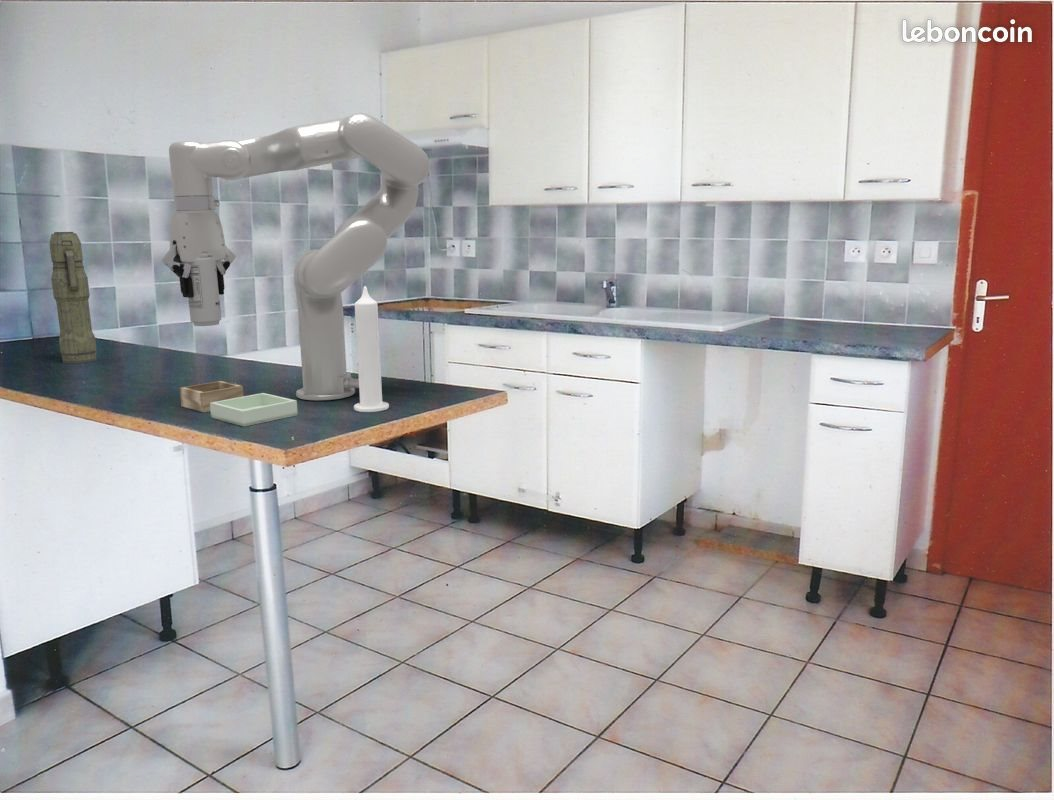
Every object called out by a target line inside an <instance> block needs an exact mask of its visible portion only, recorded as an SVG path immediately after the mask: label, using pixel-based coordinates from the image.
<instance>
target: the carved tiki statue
mask: <svg viewBox="0 0 1054 800" xmlns="http://www.w3.org/2000/svg"><path fill="white" fill-rule="evenodd" d="M82 248H83V247H82V243H81V240H80V238H79V236H78V233H75V232H74V231H57V232H54V233H51V234H50V239H49V252H50V258H51V263H52V274H51V277H50V278H51V285H52V294H53V295H52V296H53V299H54V301H55V302H56V303H55V304H56V310H57V311H56V312H57V318H58V326H59V338H58V343H59V350H60V351H59V353H60V354H61V358H62V360H61V361H62V362H61V363H63V364H71V365H72V364H84V363H85V364H86V363H91V362H92V363H93V362H96V361H97V360H98V357H97V344H96V342H97V341H96V336H95V334H94V332H93V328H92V327H93V326H92V319H91V312H90V311H91V309H90V303H89V299H90V286H89V279H88V275H87V274H86V271H85V267H84V265H83V261H84V258H83V250H82Z"/></svg>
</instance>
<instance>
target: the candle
mask: <svg viewBox="0 0 1054 800" xmlns="http://www.w3.org/2000/svg"><path fill="white" fill-rule="evenodd" d="M362 290H363V291H362V295H361V296H360V298H359V299H358V300H357V301H356V302H354V317H355V320H354V321H355V336H356V337H355V339H356V354H357V357H356V358H357V368H358V369H357V372H358V379H359V388H358V389H359V402H358V403H355V404H354V405H353V410H354V411H356V412H359V413H376V412H377V413H378V412H382V411H386V410H388V409H389V408H390V404H389V403H388V402H386V401H383V393H382V392H383V390H382V387H383V386H382V371H381V370H382V369H381V368H382V367H381V351H380V350H381V348H380V347H381V346H380V329H379V326H380V325H379V312H378V311H379V309H378V306H379V305H378V302H377V300H375V299H374V298H372V297H371V296H370V294H369V292H368V291H369V290H368V287H367V286H366V285H364V286H363V289H362Z"/></svg>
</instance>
